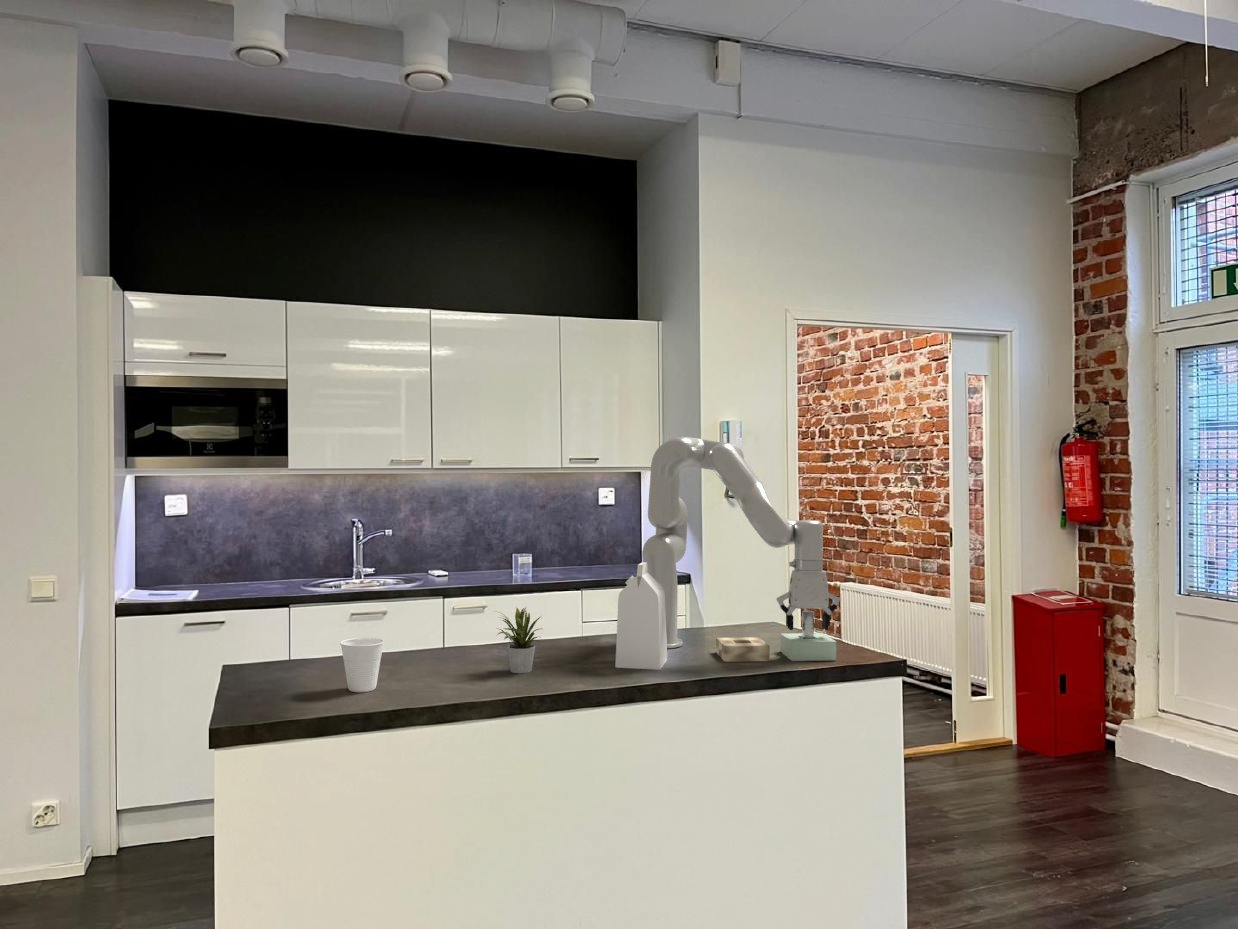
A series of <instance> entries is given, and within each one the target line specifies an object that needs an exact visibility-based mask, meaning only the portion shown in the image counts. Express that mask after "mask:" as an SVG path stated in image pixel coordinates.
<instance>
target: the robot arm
mask: <svg viewBox="0 0 1238 929" xmlns="http://www.w3.org/2000/svg"><path fill="white" fill-rule="evenodd" d="M650 463H651V464H650V472H649V473H650V476H649V488H648V489H649V490H648V506H647V518H648V521H649V524H651V526H653V527H654V528H655V534H654V535H652V536H650V537H649V538H648V539H647V540H646V541H645V543H644V544H643V548H642V553H641V555H642V556H641V558H642V562H647V573H648V574H649V575H651V576H652V577H653V578H654V579H655V580H656V581H657V582H658V583H659V584H660V585H661V587H662V588H663V589H664V592H665V613H666V640H667V649H675V648H679V647H681V646H683V643H684V642H683V639H681V638H678V591H679V590H678V572H677V571H678V570H677V564H678V562H680V561H681V560H682V559H683V557H684V556H685V554H686V550H687V542H688V541H687V537H688V521H689V520H688V519H689V518H688V517H689V516H688V515H689V512H688V507H687V505H686V502H684V500H683V499H682V498H681V497H680V486H681V485H680V484H681V483H680V481H681V480H680V470H681V469H682V468H683V467H684V468H685V467H687V468H688V467H690V468H692V467H693V468H697V469H705V470H710V471H713V472H715V475H716V476H717V477H718V478H719V479H720V481H721V482H722V483H723V485H725V487H726V489H727V490H728V491H729V492H730V494H731V495H732V497H733V498H734V499H735V501H736V502H737V503H738V506H739V507H740V509H741V511H742V512H743V514H744V515H745V517H746V519H747V520H748V522H749V523H750V525H751V526H752V528H754V530H755V531H756V533H757V534H758V535H759V537H760V538H761V539H762V540H763V542H764V543H765V544H767V545H768V546H769V547H770V548H771V547H772V548H773V549H774V548H775V549H780V548H783V547H785V546H790V545H794V558H793V560H792V561H789V562H788V566H789V567H792V568H793V569H794V570H791V574H790V579H789V585H788V586H789V588H788V592H786V593H783V594H782V595H780V596H778V597H776V598H775V599H776V600H775V601H776V602H777V604H778V607H779V608H780V609H781V610H782V611H783V613H785V626H786V627H787V629H788V630H790V631H793V630H794V615H793V613H794V611H795V610H796V609H801V610H806V609H807V610H810V609H811V610H815V609H817V610H818V609H821V610H823V612H822V618H821V619H822V621H821V622H822V624H821V625H822V628H823V629H824V630H829V627H830V626H831V615H832V613H833V612H834V611H835V610H836V609H837V606H838V604H840V601H841V598H840V597H839V596H836V595H834V594H833V593H830V592H829V584H828V576H827V572H826V570H823V567H824V566H823V560H824V559H823V558H824V557H823V555H824V554H823V551H824V550H823V549H824V548H823V547H824V541H823V540H824V525H823V523H822V522H821V521H819V520H816V519H815V520H814V519H801V520H797V519H790V518H781V517H780V515H779V514H778V512H777V511H776V510H775V509H774V507H773V506H772V504H771V503H770V501H769V499H768V498H767V495H766V493H765V488H764V485H763V483H762V481H761V480H760V478H759V477H758V476H757V474H756V473H755V472H754V470H753V469H752V468H751V467H750V465H748V463H747V461H746V460H745V456H744V452H743V450H742V449H741V448H740V447H739V445H737V444H734V443H731V442H724V441H722V442H720V441H717V440H716V441H715V440H711V439H709V440H708V439H704V438H698V437H690V436H677V437H674V438H671V439H668V440H667V441H665V442H663V443H662V444H661V445H659V447H658V448H657V449H656V450H655V452H654V454H653V456H652V458H651V462H650ZM676 563H677V564H676ZM829 599H831V600H832V603H831V604H830V605H829V603H830V600H829ZM786 600H788V605H787V606H786V605H785V603H784V601H786Z"/></svg>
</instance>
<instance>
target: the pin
mask: <svg viewBox="0 0 1238 929" xmlns="http://www.w3.org/2000/svg"><path fill="white" fill-rule="evenodd" d="M801 633H802V639H814V633H815V611H812V610H802V611H801Z"/></svg>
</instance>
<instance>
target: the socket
mask: <svg viewBox="0 0 1238 929" xmlns="http://www.w3.org/2000/svg"><path fill="white" fill-rule="evenodd" d="M779 636H780V641H779V642H780V644H779V646H780V647H779V648H780V650H779V652H780V651H781V652H782V655H784V656H785V657H786V656H787V657H786V658H787V659H789V660H790V661H791V662H798V661H799V662H804V661H805V662H806V661H837V641H836V640H834V639H833V638H831V637H830V636H828V635H827V634H825V633H823V632H821V633H819V632H816V633H815V632H814V639H802V632H798V633H796V632H795V633H793V632H791V633H780V635H779ZM781 652H780V653H781Z"/></svg>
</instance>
